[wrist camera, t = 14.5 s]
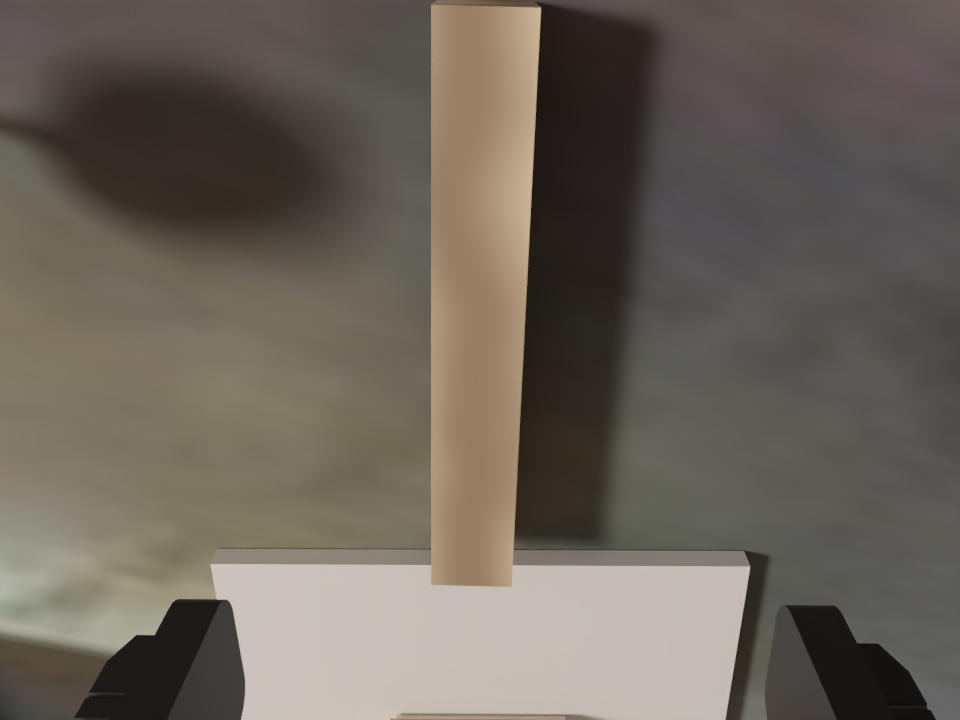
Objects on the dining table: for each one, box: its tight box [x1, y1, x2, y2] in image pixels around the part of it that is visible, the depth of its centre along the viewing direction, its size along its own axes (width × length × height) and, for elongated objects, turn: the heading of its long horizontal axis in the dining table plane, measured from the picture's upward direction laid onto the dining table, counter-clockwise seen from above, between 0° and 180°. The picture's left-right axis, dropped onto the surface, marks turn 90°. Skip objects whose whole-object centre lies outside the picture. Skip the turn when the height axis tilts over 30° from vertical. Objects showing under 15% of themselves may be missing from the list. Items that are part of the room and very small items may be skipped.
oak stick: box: [431, 0, 541, 587], centre depth 29 cm, size 3×20×4 cm, turn 179°
